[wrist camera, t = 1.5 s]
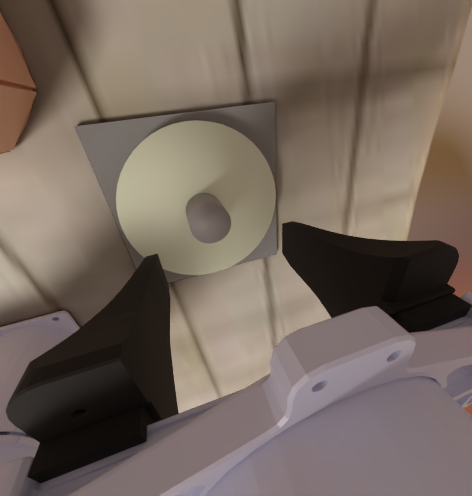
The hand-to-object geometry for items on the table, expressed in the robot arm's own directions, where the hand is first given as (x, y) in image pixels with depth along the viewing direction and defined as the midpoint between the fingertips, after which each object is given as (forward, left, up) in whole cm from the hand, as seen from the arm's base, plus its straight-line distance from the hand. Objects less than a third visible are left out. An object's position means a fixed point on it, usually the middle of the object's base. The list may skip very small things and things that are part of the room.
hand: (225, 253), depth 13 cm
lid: (0, 0, -8) cm, 8 cm away
